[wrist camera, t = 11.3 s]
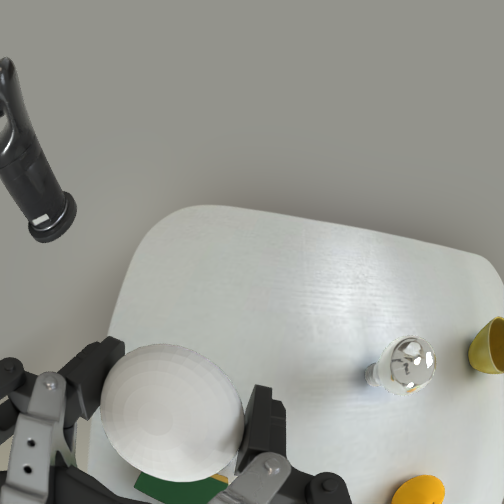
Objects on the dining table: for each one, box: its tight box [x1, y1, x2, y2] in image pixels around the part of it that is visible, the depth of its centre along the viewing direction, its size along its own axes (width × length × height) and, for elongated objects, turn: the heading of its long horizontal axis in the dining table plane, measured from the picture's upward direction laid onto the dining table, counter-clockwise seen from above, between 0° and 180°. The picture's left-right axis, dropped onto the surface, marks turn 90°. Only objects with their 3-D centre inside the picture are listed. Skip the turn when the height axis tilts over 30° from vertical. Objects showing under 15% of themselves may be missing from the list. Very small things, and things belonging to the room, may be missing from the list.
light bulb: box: [365, 335, 436, 396], centre depth 26 cm, size 7×7×12 cm
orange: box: [391, 475, 445, 504], centre depth 18 cm, size 8×8×8 cm
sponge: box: [134, 472, 228, 504], centre depth 21 cm, size 9×6×3 cm, turn 67°
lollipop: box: [100, 344, 244, 482], centre depth 13 cm, size 6×6×15 cm
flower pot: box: [468, 317, 504, 374], centre depth 30 cm, size 10×10×7 cm
